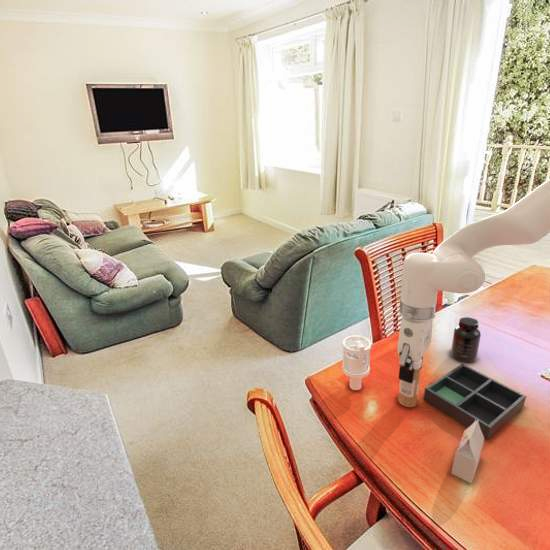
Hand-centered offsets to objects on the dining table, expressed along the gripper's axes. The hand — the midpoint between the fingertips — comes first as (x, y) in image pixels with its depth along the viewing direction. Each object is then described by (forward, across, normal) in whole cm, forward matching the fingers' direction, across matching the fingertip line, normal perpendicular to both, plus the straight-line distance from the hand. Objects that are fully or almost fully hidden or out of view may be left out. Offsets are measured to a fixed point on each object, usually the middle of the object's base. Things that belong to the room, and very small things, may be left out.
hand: (410, 373), depth 90 cm
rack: (+9, +8, -13) cm, 18 cm away
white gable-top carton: (+9, -12, -16) cm, 22 cm away
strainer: (+9, -2, +13) cm, 16 cm away
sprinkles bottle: (+9, 0, 0) cm, 9 cm away
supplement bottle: (+9, +27, -7) cm, 29 cm away
